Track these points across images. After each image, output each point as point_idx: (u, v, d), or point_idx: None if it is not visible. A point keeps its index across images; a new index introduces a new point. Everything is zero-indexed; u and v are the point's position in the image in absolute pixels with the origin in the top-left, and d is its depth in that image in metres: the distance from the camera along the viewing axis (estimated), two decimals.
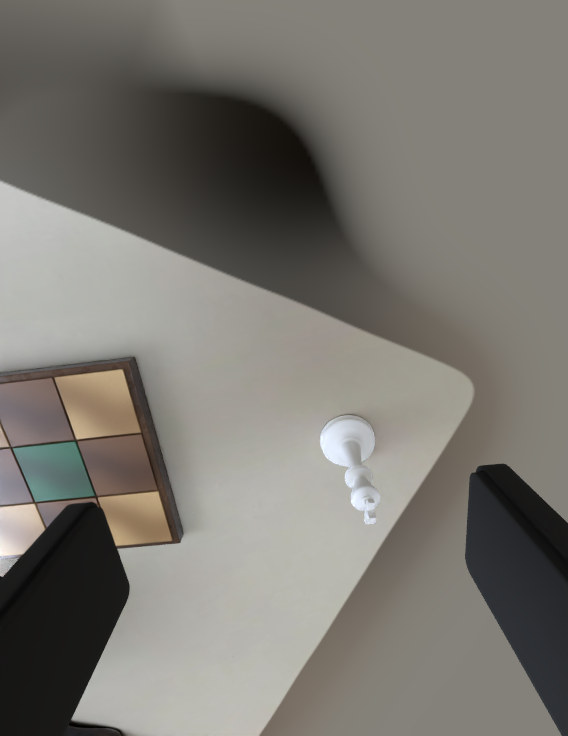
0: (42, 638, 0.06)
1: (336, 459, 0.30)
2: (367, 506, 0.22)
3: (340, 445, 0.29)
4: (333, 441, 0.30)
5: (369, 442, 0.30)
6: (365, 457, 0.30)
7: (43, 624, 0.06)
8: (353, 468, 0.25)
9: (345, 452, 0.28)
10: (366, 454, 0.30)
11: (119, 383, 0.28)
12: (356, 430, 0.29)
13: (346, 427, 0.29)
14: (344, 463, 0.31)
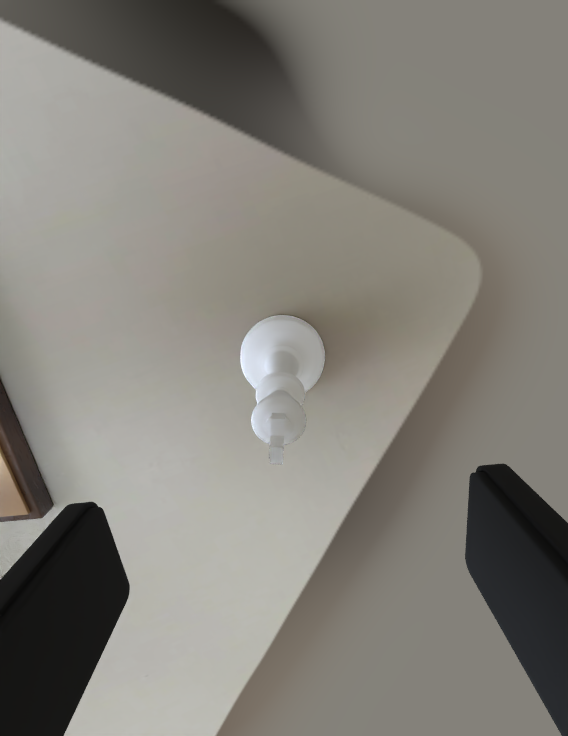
0: (42, 638, 0.06)
1: None
2: (271, 427, 0.11)
3: (265, 358, 0.18)
4: (257, 355, 0.19)
5: (314, 357, 0.19)
6: (309, 383, 0.19)
7: (43, 624, 0.06)
8: (268, 378, 0.14)
9: (270, 365, 0.17)
10: (311, 378, 0.19)
11: None
12: (293, 336, 0.18)
13: (276, 330, 0.18)
14: None
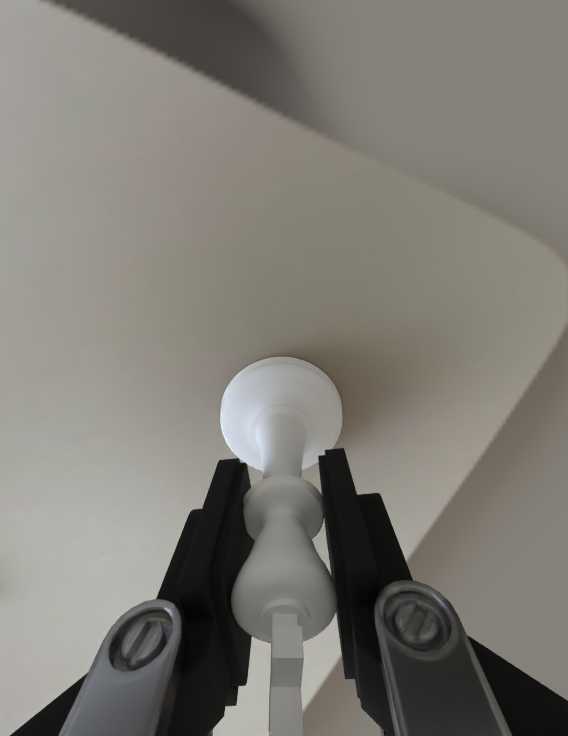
0: (238, 562, 0.07)
1: (256, 458, 0.13)
2: None
3: (257, 425, 0.12)
4: (245, 417, 0.13)
5: (329, 418, 0.13)
6: (321, 453, 0.13)
7: (237, 551, 0.07)
8: (262, 487, 0.08)
9: (264, 440, 0.11)
10: (323, 447, 0.13)
11: None
12: (298, 390, 0.12)
13: (273, 382, 0.12)
14: None
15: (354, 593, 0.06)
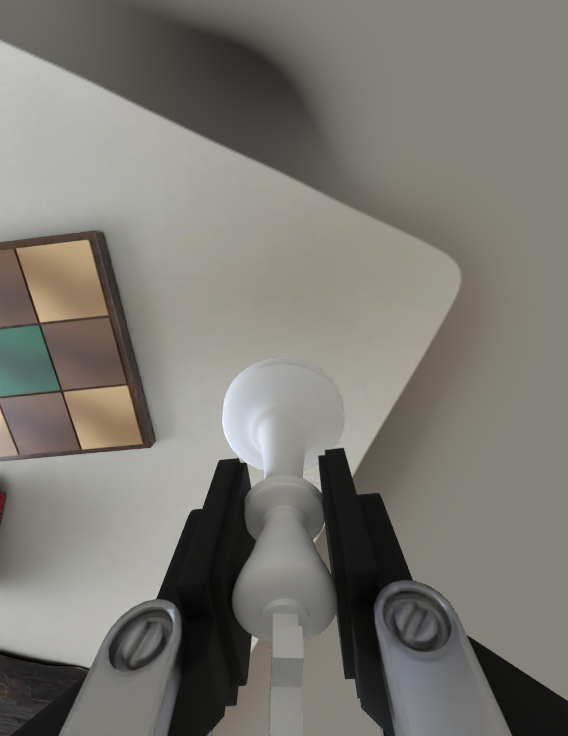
0: (238, 562, 0.07)
1: (258, 458, 0.13)
2: None
3: (259, 425, 0.12)
4: (246, 417, 0.13)
5: (330, 419, 0.13)
6: (323, 454, 0.13)
7: (237, 551, 0.07)
8: (264, 487, 0.08)
9: (266, 441, 0.11)
10: (324, 447, 0.13)
11: (85, 256, 0.26)
12: (300, 390, 0.12)
13: (274, 382, 0.12)
14: None
15: (354, 593, 0.06)
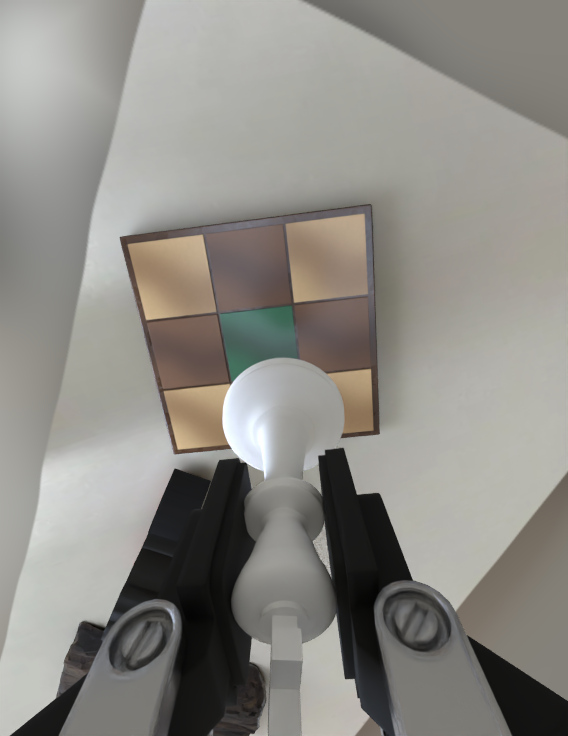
0: (238, 562, 0.07)
1: (257, 458, 0.13)
2: None
3: (259, 426, 0.12)
4: (247, 417, 0.13)
5: (330, 420, 0.13)
6: None
7: (237, 551, 0.07)
8: (264, 488, 0.08)
9: (266, 442, 0.11)
10: (325, 448, 0.13)
11: (357, 231, 0.25)
12: (300, 391, 0.12)
13: (275, 383, 0.12)
14: None
15: (354, 593, 0.06)
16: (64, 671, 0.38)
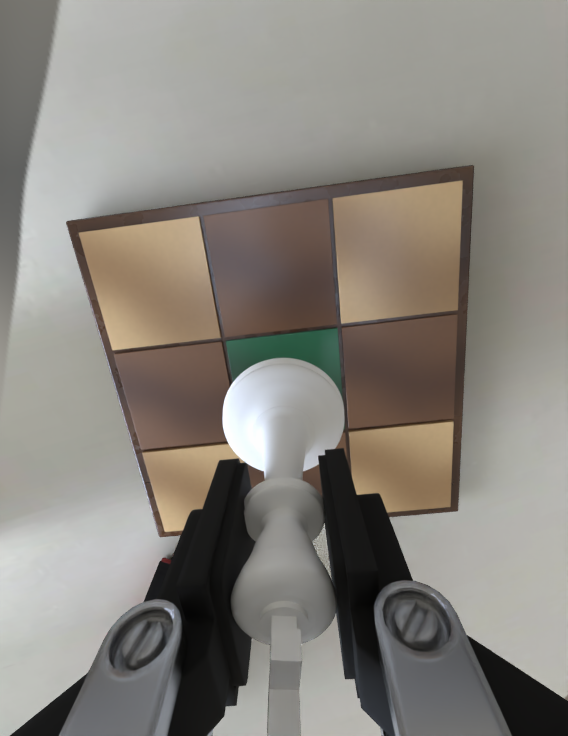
0: (238, 562, 0.07)
1: (258, 459, 0.13)
2: None
3: (259, 426, 0.12)
4: (247, 418, 0.13)
5: (331, 420, 0.13)
6: None
7: (237, 551, 0.07)
8: (264, 489, 0.08)
9: (266, 442, 0.11)
10: (325, 448, 0.13)
11: (448, 210, 0.16)
12: (300, 391, 0.12)
13: (275, 383, 0.12)
14: None
15: (354, 593, 0.06)
16: None
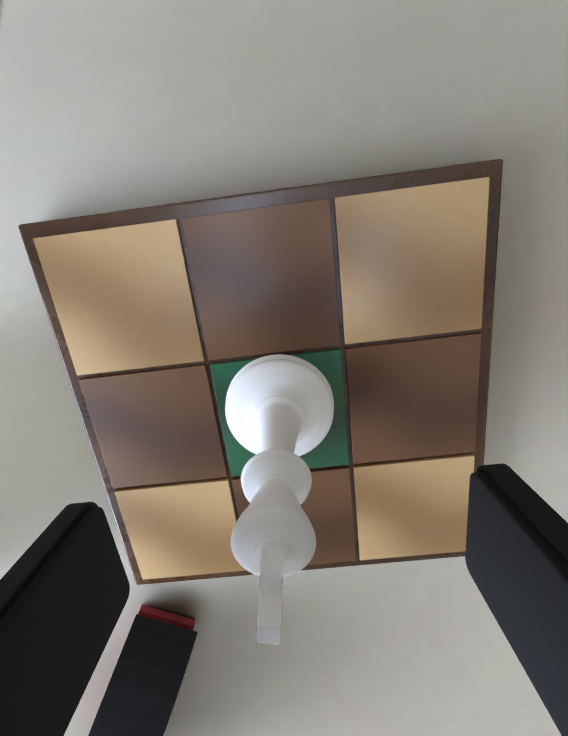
0: (42, 638, 0.06)
1: (256, 445, 0.15)
2: None
3: (257, 413, 0.14)
4: (247, 407, 0.14)
5: (321, 409, 0.15)
6: (315, 441, 0.15)
7: (43, 624, 0.06)
8: (259, 459, 0.10)
9: (263, 426, 0.13)
10: (316, 435, 0.15)
11: (472, 212, 0.13)
12: (294, 383, 0.14)
13: (271, 376, 0.14)
14: None
15: None
16: None
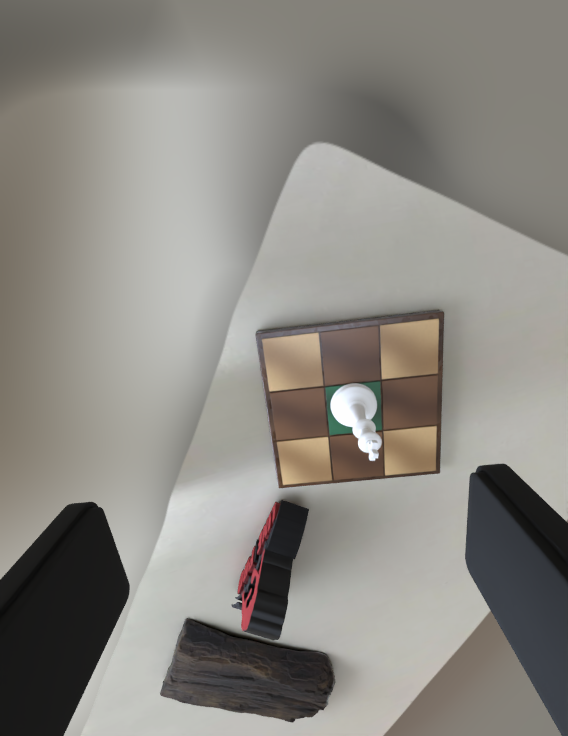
0: (42, 638, 0.06)
1: (344, 420, 0.36)
2: (371, 446, 0.28)
3: (348, 407, 0.35)
4: (342, 405, 0.36)
5: (372, 406, 0.36)
6: (368, 419, 0.36)
7: (43, 624, 0.06)
8: (360, 421, 0.31)
9: (353, 412, 0.34)
10: (369, 416, 0.36)
11: (432, 330, 0.34)
12: (362, 395, 0.35)
13: (353, 392, 0.35)
14: (351, 424, 0.36)
15: None
16: (176, 658, 0.48)
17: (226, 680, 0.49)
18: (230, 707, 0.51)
